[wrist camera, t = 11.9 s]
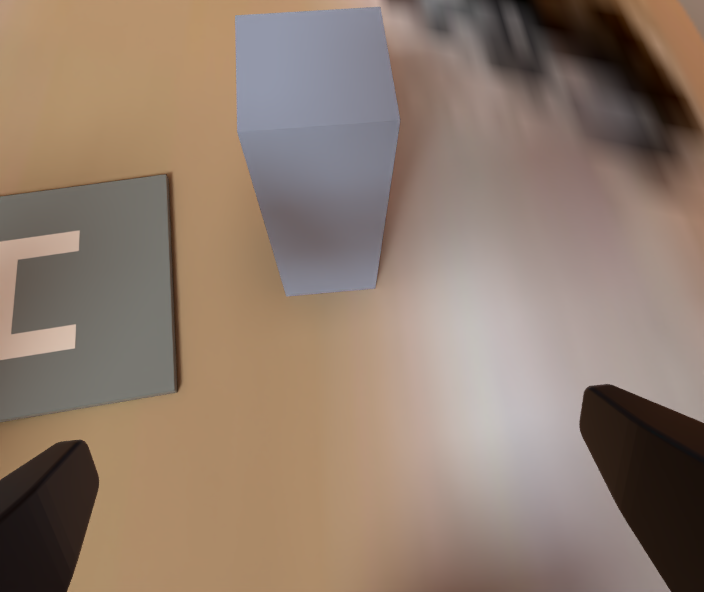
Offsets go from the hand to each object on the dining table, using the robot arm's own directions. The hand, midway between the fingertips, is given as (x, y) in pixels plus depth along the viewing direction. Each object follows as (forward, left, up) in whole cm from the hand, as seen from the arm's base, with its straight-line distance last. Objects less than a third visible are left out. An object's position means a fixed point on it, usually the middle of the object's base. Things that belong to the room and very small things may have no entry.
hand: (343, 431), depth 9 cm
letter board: (+11, +15, -14) cm, 23 cm away
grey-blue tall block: (+11, -1, -14) cm, 17 cm away
